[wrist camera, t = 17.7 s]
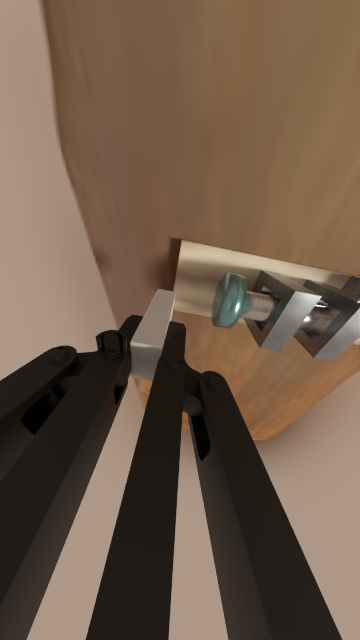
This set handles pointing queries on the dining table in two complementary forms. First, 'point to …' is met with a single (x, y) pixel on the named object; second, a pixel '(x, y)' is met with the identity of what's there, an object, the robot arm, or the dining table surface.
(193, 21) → the dining table surface
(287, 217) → the dining table surface
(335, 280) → the board
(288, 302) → the grey angular blocks
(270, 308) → the shaft
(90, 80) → the dining table surface
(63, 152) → the dining table surface
